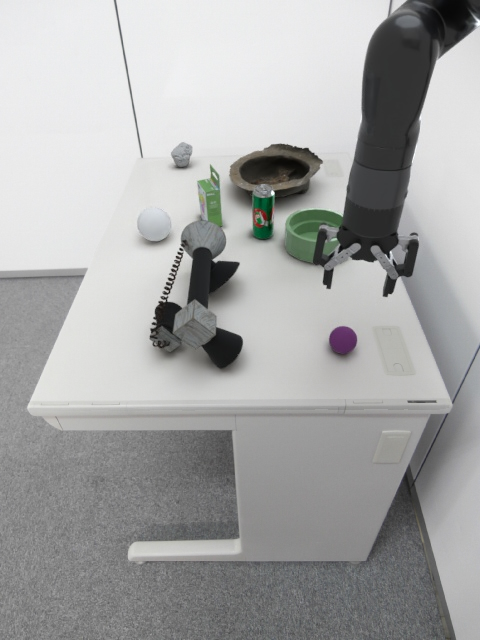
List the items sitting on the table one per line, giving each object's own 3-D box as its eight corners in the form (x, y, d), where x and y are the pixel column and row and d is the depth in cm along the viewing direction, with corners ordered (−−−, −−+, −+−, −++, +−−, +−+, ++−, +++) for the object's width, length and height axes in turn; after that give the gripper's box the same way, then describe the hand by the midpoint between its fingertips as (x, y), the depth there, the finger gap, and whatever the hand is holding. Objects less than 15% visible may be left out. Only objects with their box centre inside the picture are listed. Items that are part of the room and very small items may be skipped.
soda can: (267, 227, 109) (268, 181, 101) (277, 237, 106) (279, 190, 97) (248, 232, 107) (248, 186, 99) (258, 242, 104) (259, 195, 96)
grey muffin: (197, 167, 136) (195, 144, 131) (176, 172, 133) (174, 149, 129) (189, 160, 140) (186, 137, 135) (168, 165, 137) (165, 142, 133)
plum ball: (355, 341, 80) (359, 322, 76) (354, 361, 76) (359, 341, 73) (328, 338, 80) (331, 318, 77) (326, 357, 77) (329, 337, 74)
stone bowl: (332, 180, 126) (335, 149, 119) (293, 226, 112) (295, 194, 105) (257, 162, 136) (256, 132, 129) (212, 202, 121) (209, 171, 115)
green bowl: (348, 232, 106) (352, 210, 102) (346, 268, 96) (351, 244, 92) (288, 227, 109) (289, 205, 105) (280, 261, 98) (281, 238, 94)
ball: (179, 241, 105) (174, 211, 100) (148, 251, 102) (142, 221, 97) (165, 226, 110) (160, 197, 105) (135, 236, 107) (128, 206, 102)
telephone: (196, 290, 100) (185, 393, 78) (153, 255, 94) (127, 357, 71) (245, 251, 93) (249, 351, 71) (203, 211, 87) (192, 307, 65)
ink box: (199, 216, 114) (195, 166, 105) (214, 213, 115) (211, 163, 105) (207, 229, 109) (203, 178, 100) (222, 226, 110) (220, 175, 101)
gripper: (432, 185, 58) (403, 281, 70) (324, 175, 61) (313, 269, 72) (435, 213, 53) (404, 312, 64) (317, 200, 56) (307, 298, 67)
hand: (356, 289), depth 68 cm, fingers open, 8 cm apart
